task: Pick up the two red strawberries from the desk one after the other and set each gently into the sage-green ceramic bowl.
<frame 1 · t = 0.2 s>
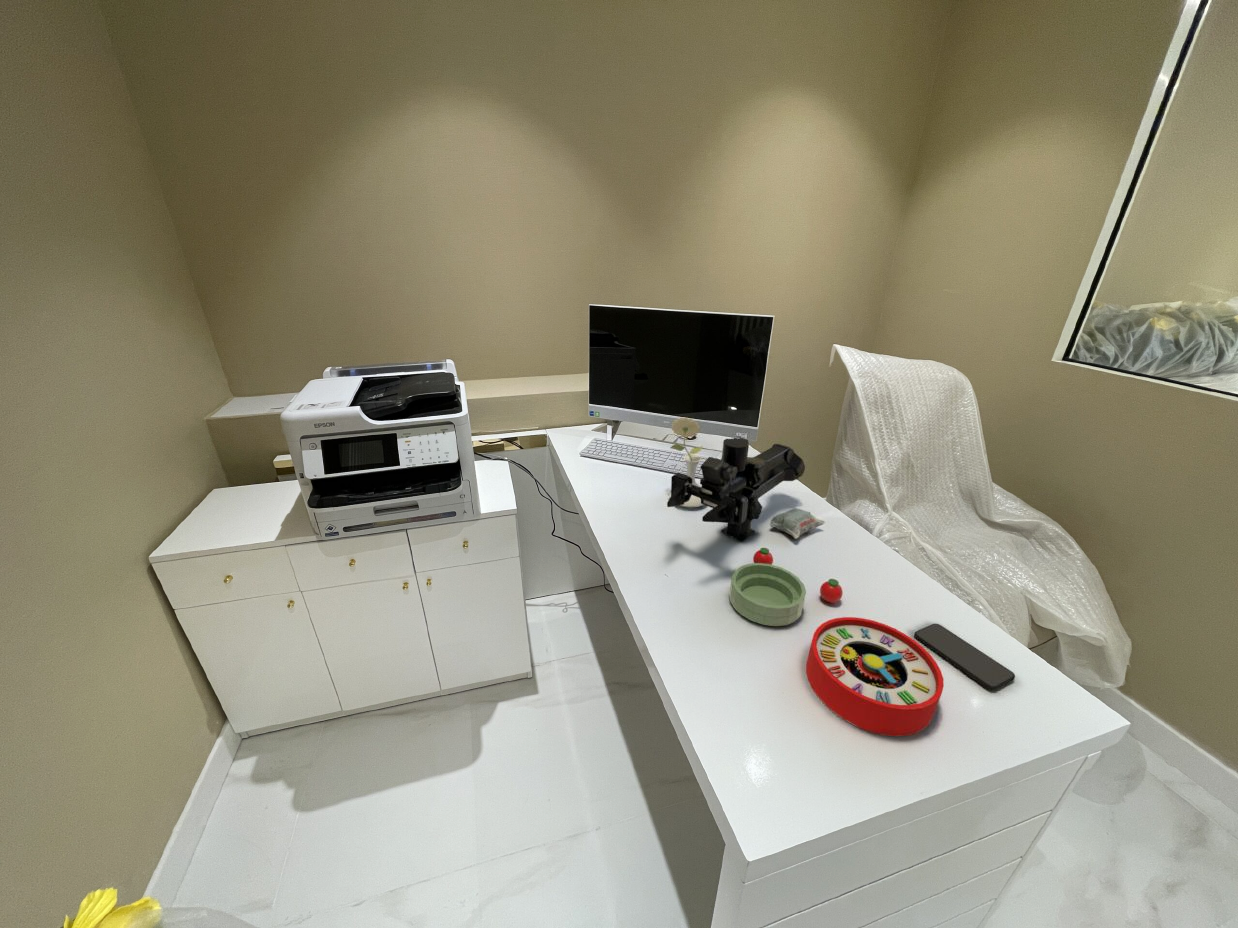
hand: (684, 511, 106), 16 cm above the table, tool horizontal, fingers open, 9 cm apart
strawberry 1: (761, 567, 116), on the table
strawberry 2: (829, 599, 106), on the table
packaged food: (795, 531, 132), on the table
bowl: (764, 603, 105), on the table
flower in vase: (685, 501, 145), on the table
smartphone: (960, 656, 93), on the table
toy clock: (866, 684, 86), on the table
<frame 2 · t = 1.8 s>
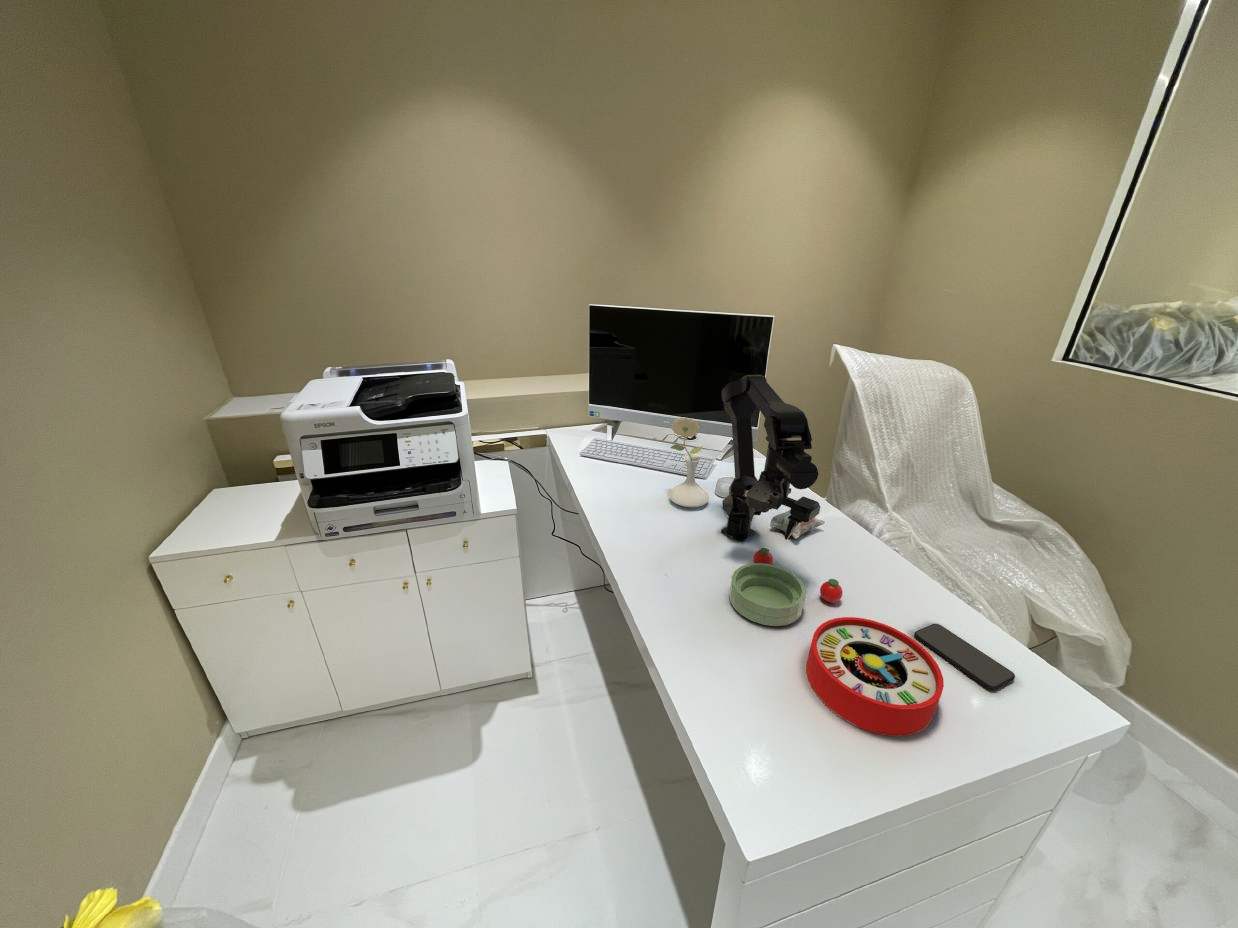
hand: (767, 530, 112), 10 cm above the table, tool pointing down, fingers open, 9 cm apart
nothing on the table moved.
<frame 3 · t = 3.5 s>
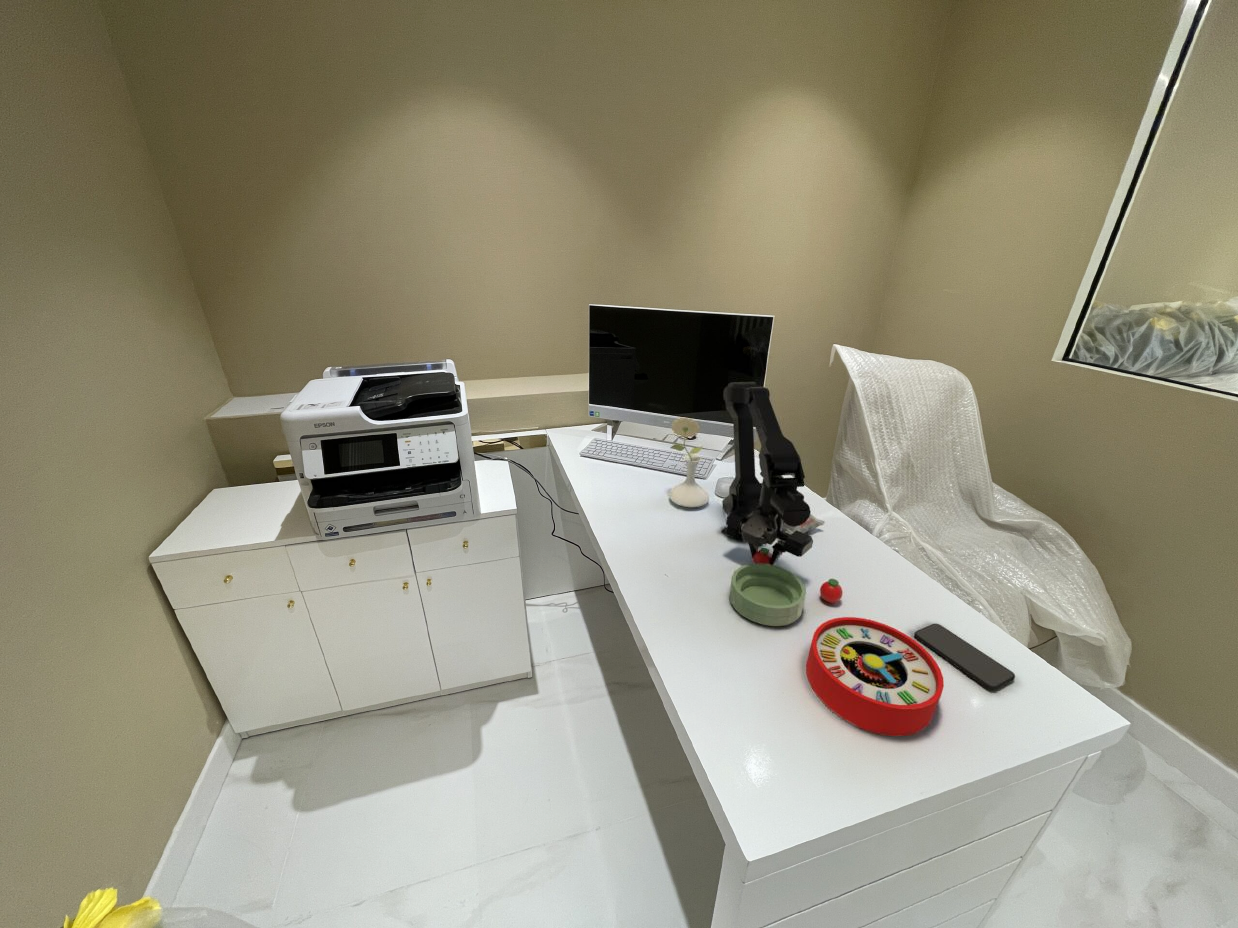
hand: (762, 561, 116), 2 cm above the table, tool pointing down, fingers closed on strawberry 1, 4 cm apart
strawberry 1: (761, 567, 116), on the table, touching gripper
everything else where it was.
when the fingers open (2 cm above the table, at t = 8.6 s): strawberry 1 stays where it is, resting on bowl.
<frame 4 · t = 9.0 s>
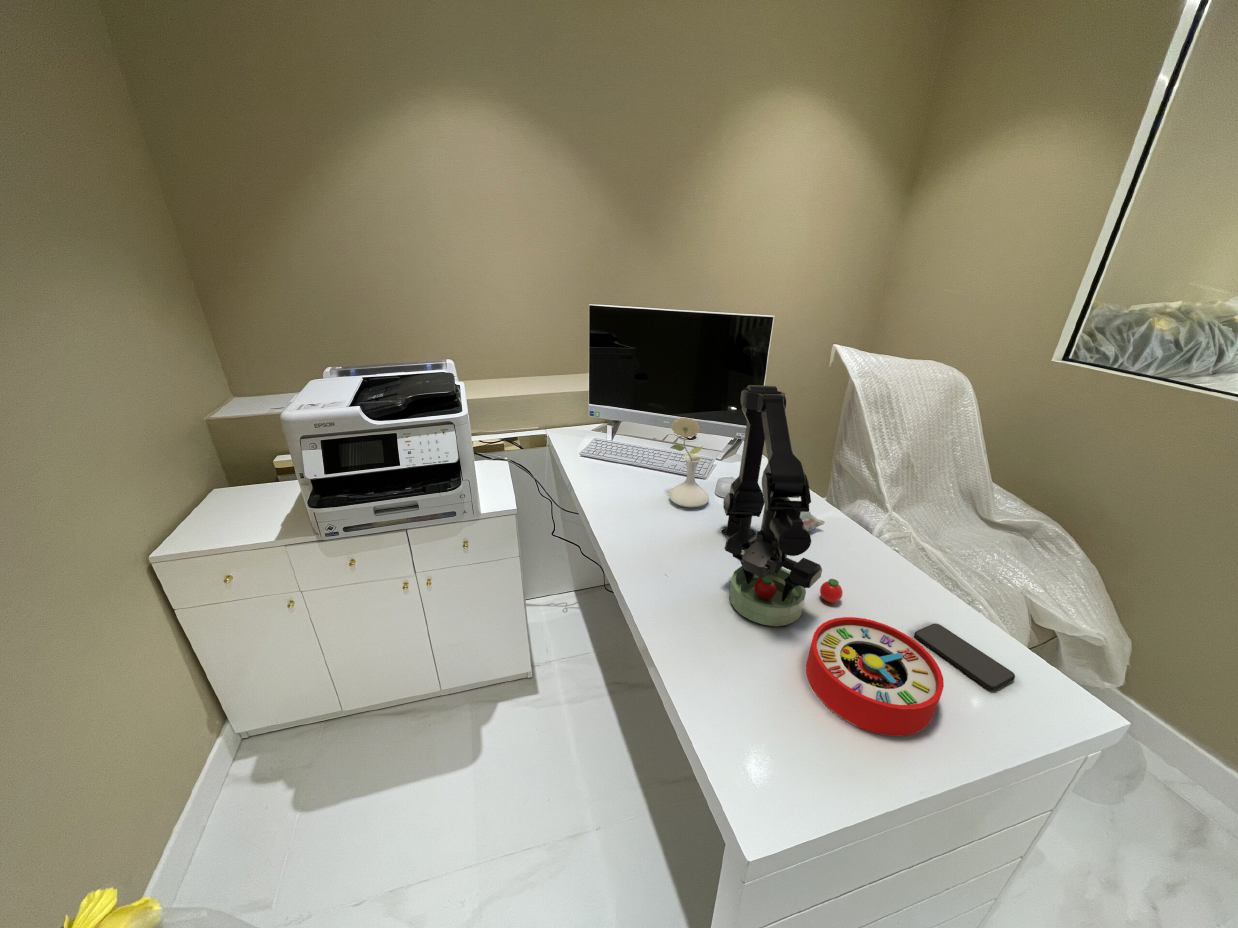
hand: (765, 591, 105), 2 cm above the table, tool pointing down, fingers open, 8 cm apart
strawberry 1: (763, 596, 106), point 1 cm above the table, touching bowl
everything else where it was.
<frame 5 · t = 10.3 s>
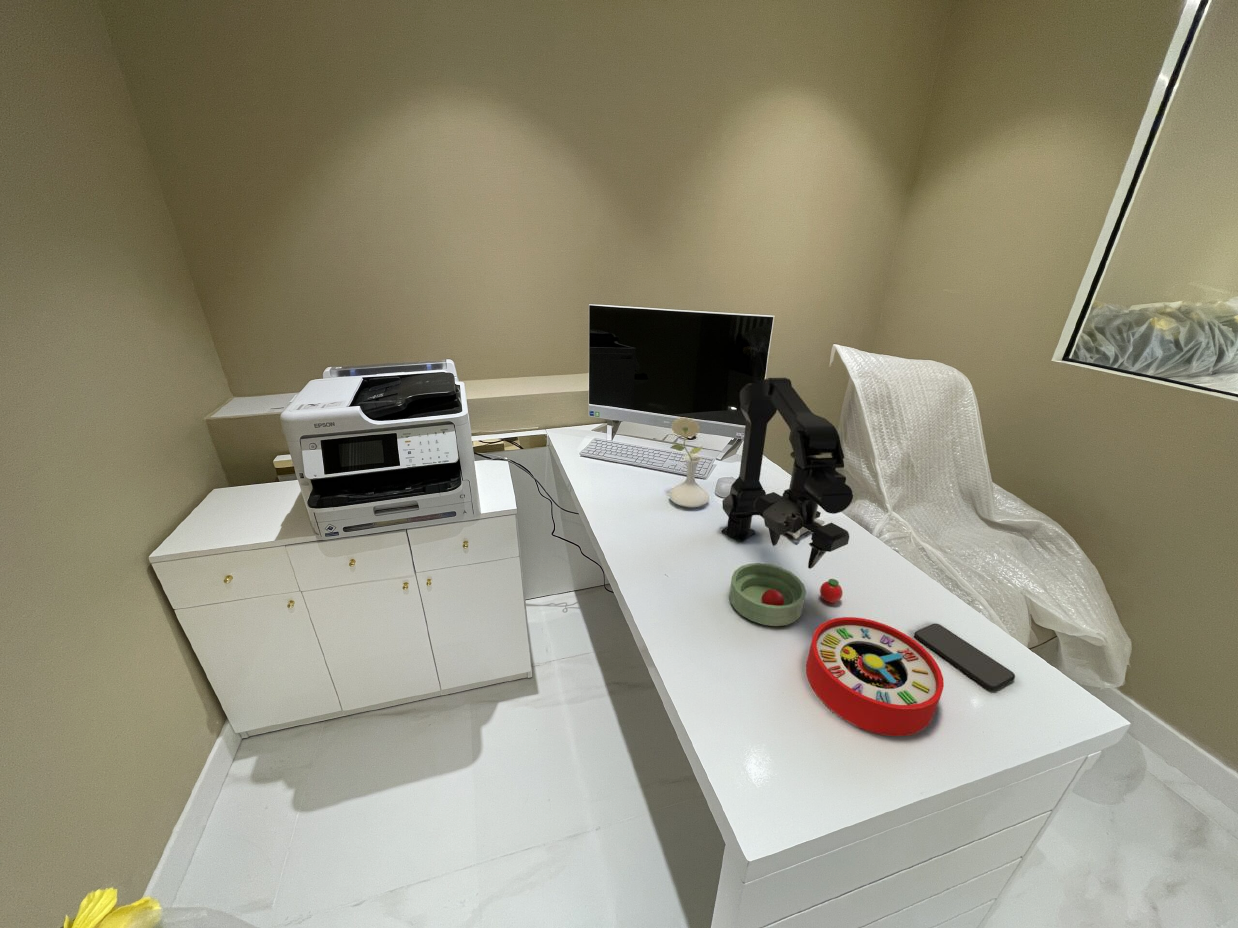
hand: (791, 556, 102), 11 cm above the table, tool pointing down, fingers open, 9 cm apart
strawberry 1: (768, 591, 103), point 3 cm above the table, tilted 102°, touching bowl
everything else where it was.
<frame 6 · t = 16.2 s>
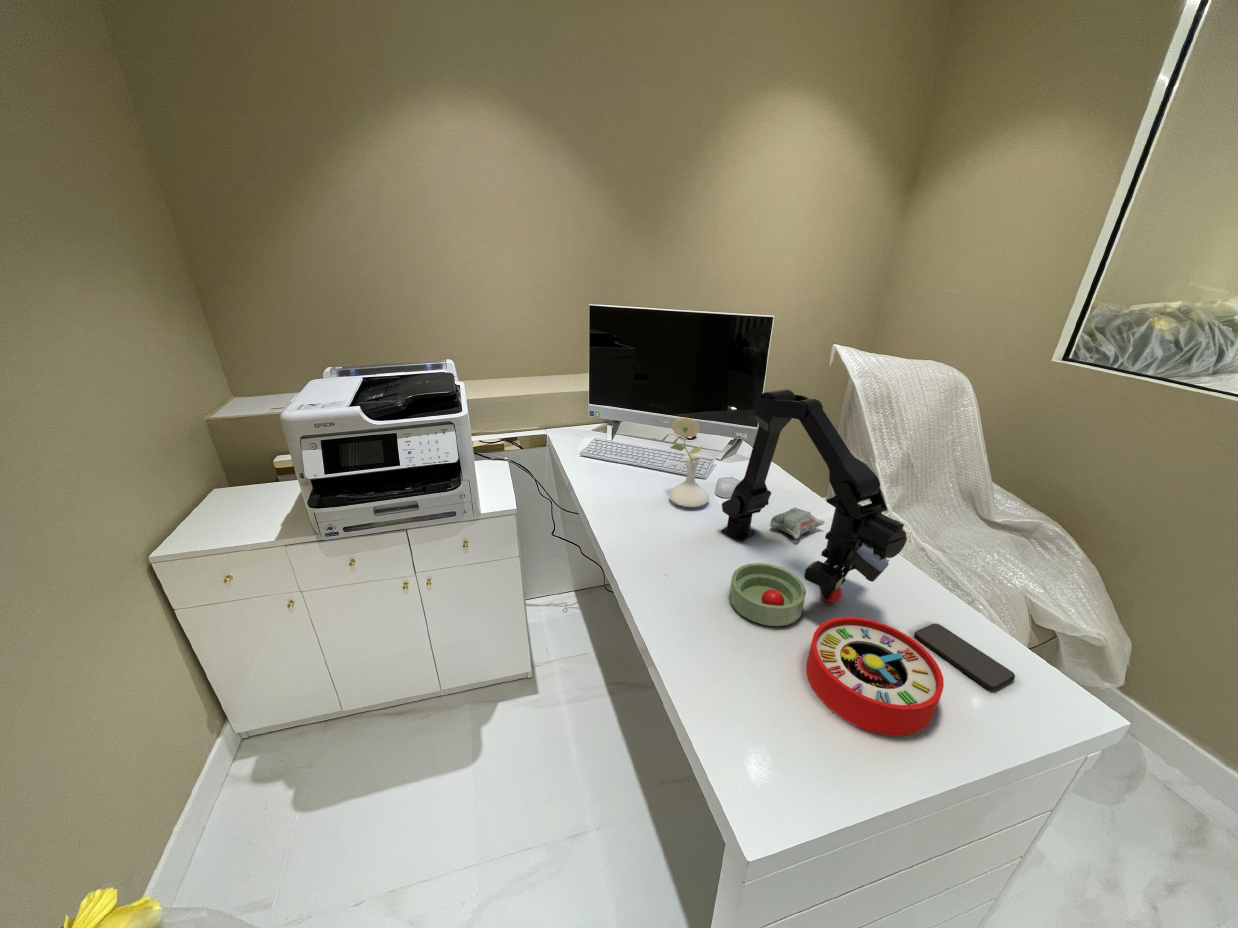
hand: (830, 594, 106), 2 cm above the table, tool pointing down, fingers closed on strawberry 2, 4 cm apart
strawberry 2: (829, 599, 106), on the table, touching gripper
everything else where it was.
when the fingers open (6 cm above the table, at t = 20.0 s): strawberry 2 stays where it is and tips over, resting on strawberry 1.
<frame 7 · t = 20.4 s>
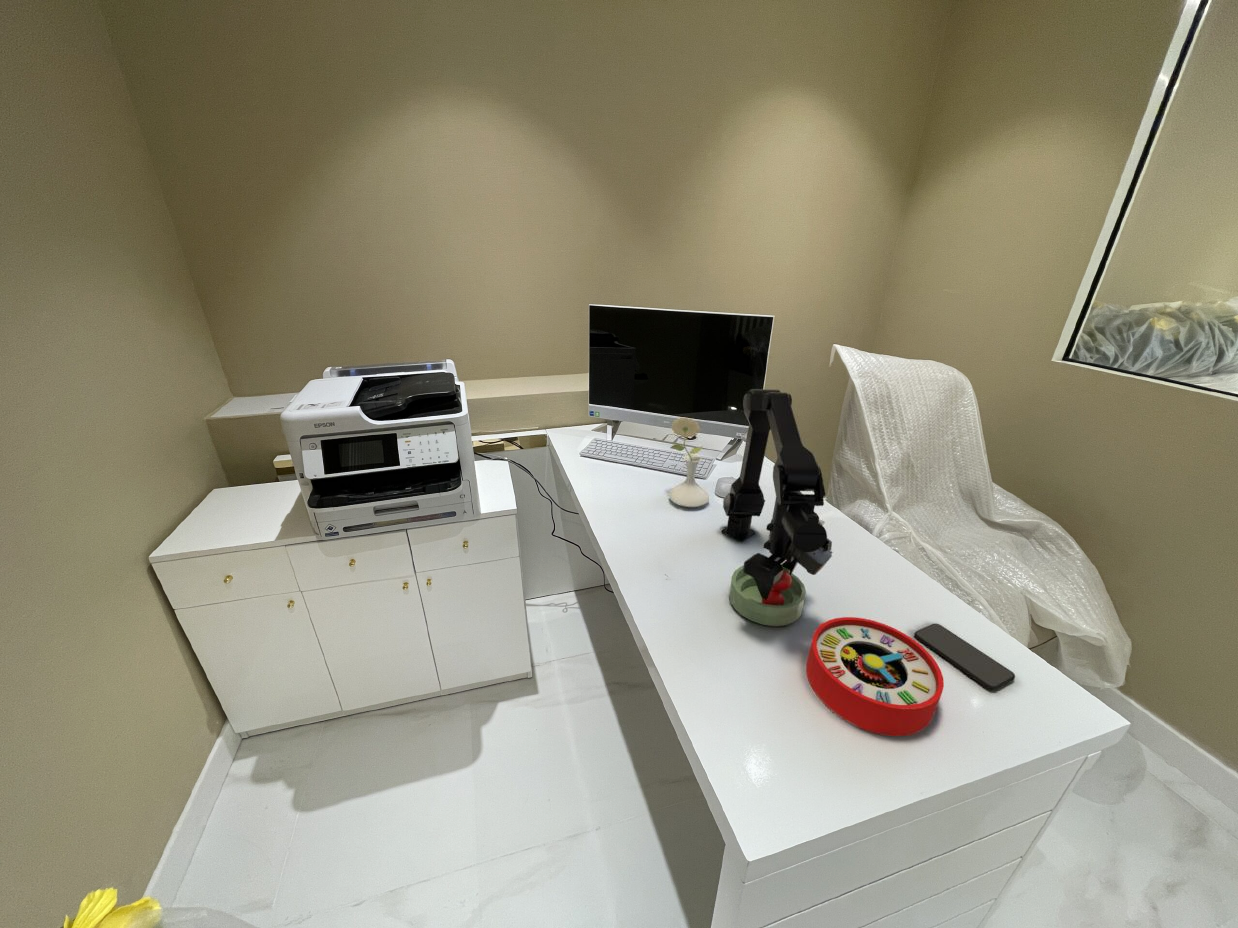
hand: (775, 588, 101), 6 cm above the table, tool pointing down, fingers open, 8 cm apart
strawberry 1: (768, 591, 103), point 3 cm above the table, tilted 100°, touching bowl, strawberry 2
strawberry 2: (775, 589, 101), point 5 cm above the table, tilted 41°, touching strawberry 1
everything else where it was.
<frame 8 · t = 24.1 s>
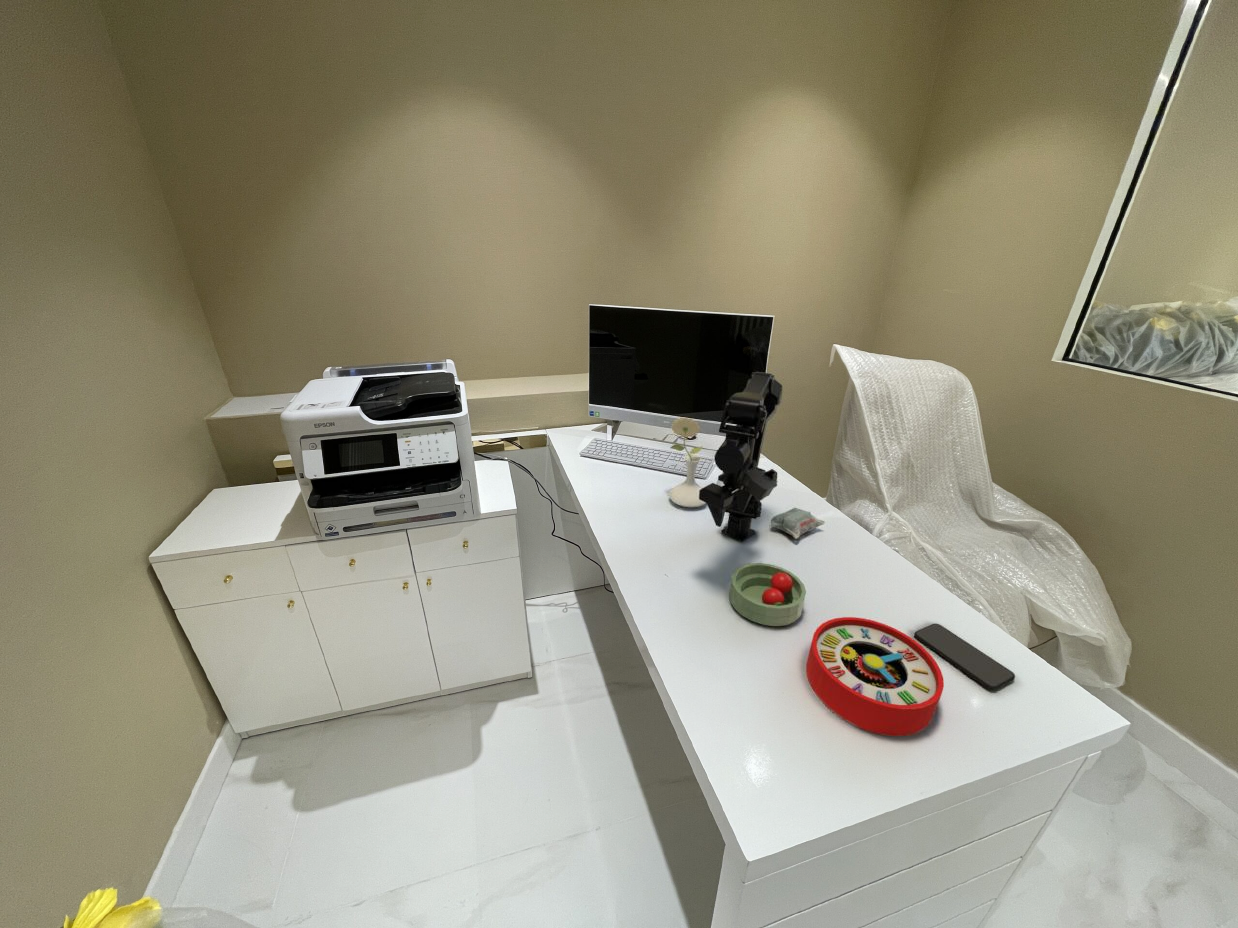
hand: (730, 518, 113), 12 cm above the table, tool pointing down, fingers open, 9 cm apart
strawberry 1: (768, 592, 104), point 3 cm above the table, tilted 92°, touching bowl, strawberry 2
strawberry 2: (777, 586, 103), point 5 cm above the table, tilted 101°, touching bowl, strawberry 1
everything else where it was.
at the end: strawberry 1 inside the target area in the bowl (0.4 cm from its centre), point 2.9 cm above the bowl's base; strawberry 2 inside the target area in the bowl (1.8 cm from its centre), point 4.7 cm above the bowl's base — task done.
